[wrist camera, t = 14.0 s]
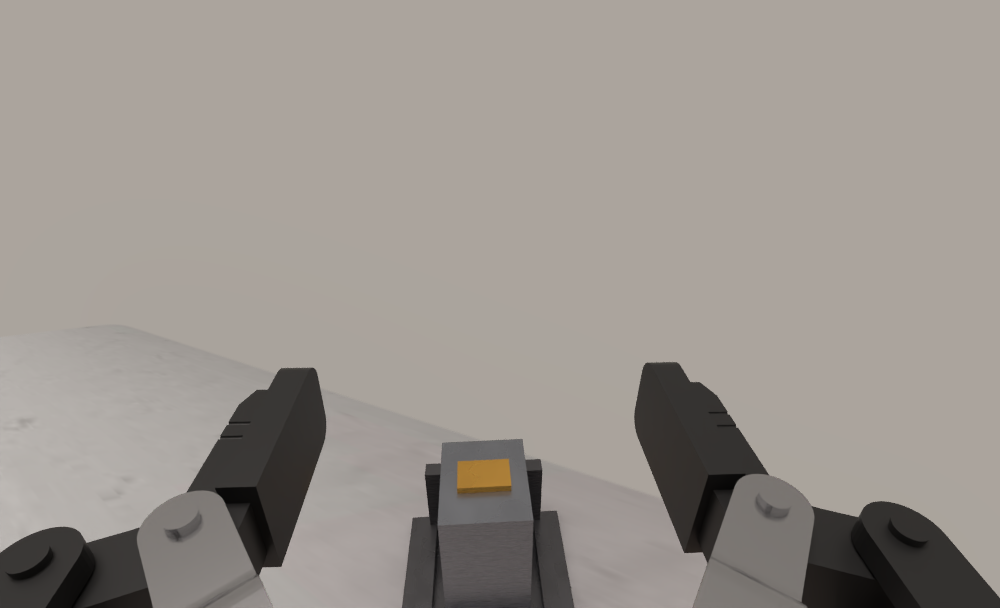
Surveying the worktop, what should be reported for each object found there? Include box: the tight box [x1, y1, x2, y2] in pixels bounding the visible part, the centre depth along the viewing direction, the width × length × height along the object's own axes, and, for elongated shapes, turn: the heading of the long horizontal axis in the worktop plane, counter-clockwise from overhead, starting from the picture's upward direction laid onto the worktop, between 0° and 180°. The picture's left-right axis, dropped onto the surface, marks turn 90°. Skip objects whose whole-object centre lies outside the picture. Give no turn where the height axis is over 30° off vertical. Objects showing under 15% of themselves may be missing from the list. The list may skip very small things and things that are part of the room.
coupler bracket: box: [402, 459, 574, 608], centre depth 33 cm, size 11×11×6 cm
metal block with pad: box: [437, 439, 534, 608], centre depth 31 cm, size 6×5×10 cm
